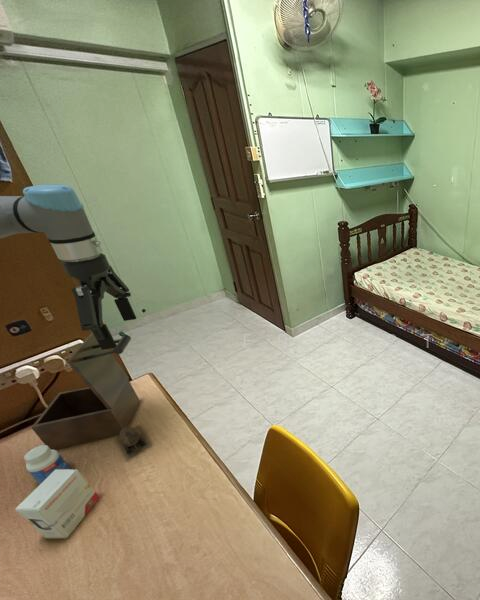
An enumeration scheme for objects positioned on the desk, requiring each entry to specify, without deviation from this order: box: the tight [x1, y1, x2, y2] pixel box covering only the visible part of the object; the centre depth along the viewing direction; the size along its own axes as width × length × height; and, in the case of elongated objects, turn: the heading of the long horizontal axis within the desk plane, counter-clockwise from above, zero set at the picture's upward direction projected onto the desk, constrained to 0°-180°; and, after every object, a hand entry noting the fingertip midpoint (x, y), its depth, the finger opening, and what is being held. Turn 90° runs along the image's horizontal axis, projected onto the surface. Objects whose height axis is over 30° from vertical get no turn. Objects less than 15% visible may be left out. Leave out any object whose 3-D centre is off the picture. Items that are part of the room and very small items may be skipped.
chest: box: [30, 379, 141, 451], centre depth 89 cm, size 17×13×10 cm
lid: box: [66, 332, 132, 410], centre depth 85 cm, size 17×13×9 cm
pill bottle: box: [23, 444, 71, 485], centre depth 75 cm, size 6×5×10 cm
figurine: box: [118, 426, 150, 459], centre depth 83 cm, size 14×4×9 cm, turn 52°
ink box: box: [15, 468, 100, 539], centre depth 67 cm, size 9×5×12 cm, turn 0°
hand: (120, 332), depth 82 cm, fingers open, 13 cm apart
